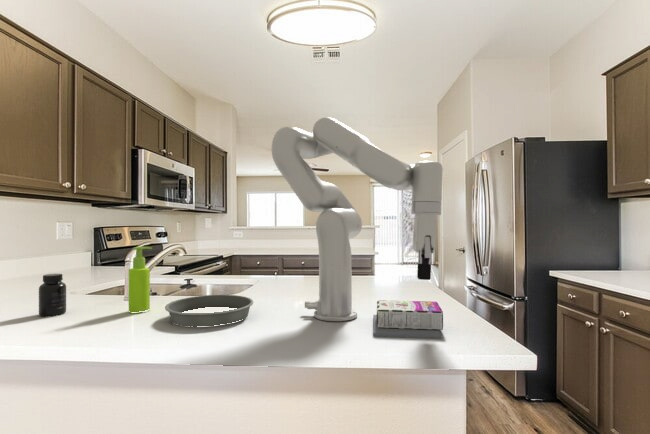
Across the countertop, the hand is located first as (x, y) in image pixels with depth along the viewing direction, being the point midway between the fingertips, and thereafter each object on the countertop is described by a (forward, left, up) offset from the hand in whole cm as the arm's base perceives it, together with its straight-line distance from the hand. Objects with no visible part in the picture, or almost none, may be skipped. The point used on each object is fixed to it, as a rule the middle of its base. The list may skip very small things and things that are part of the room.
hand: (423, 278), depth 101 cm
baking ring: (-60, +4, -13) cm, 62 cm away
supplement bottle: (-109, +2, -13) cm, 110 cm away
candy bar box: (+4, 0, -10) cm, 10 cm away
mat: (-5, 0, -13) cm, 14 cm away
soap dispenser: (-85, +9, -13) cm, 87 cm away
